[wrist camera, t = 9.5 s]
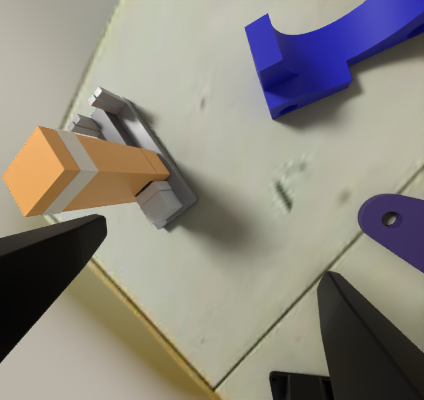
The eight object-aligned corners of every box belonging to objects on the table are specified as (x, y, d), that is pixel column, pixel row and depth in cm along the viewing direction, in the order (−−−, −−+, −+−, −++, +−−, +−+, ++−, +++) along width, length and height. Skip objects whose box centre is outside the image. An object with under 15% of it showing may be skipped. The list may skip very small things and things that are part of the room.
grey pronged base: (198, 199, 22) (178, 203, 18) (163, 227, 23) (138, 237, 20) (128, 100, 24) (97, 83, 20) (100, 133, 25) (66, 124, 21)
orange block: (170, 174, 21) (65, 169, 11) (141, 201, 23) (24, 218, 13) (154, 150, 22) (37, 124, 11) (126, 178, 23) (1, 176, 13)
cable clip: (272, 120, 19) (266, 94, 13) (257, 72, 19) (244, 27, 13) (442, 47, 15) (538, -34, 9) (421, -12, 15) (503, -130, 9)
